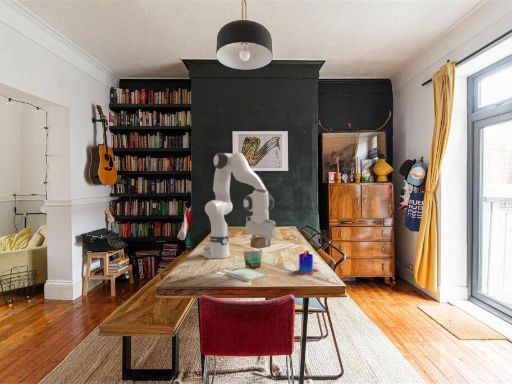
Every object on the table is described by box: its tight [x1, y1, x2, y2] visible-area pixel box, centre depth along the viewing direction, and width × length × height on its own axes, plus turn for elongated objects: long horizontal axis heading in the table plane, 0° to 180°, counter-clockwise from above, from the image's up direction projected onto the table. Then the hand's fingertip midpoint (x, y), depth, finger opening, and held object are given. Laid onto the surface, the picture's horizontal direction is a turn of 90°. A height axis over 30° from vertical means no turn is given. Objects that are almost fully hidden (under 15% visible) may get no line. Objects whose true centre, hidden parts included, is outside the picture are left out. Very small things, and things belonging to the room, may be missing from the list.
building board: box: [225, 266, 269, 283], centre depth 168 cm, size 18×14×2 cm
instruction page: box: [214, 269, 232, 276], centre depth 174 cm, size 6×9×1 cm, turn 144°
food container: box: [242, 249, 264, 270], centre depth 184 cm, size 12×6×10 cm, turn 117°
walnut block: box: [250, 236, 271, 250], centre depth 171 cm, size 6×9×5 cm
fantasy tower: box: [293, 250, 319, 276], centre depth 175 cm, size 12×12×12 cm
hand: (260, 243), depth 171 cm, fingers closed on walnut block, 6 cm apart
